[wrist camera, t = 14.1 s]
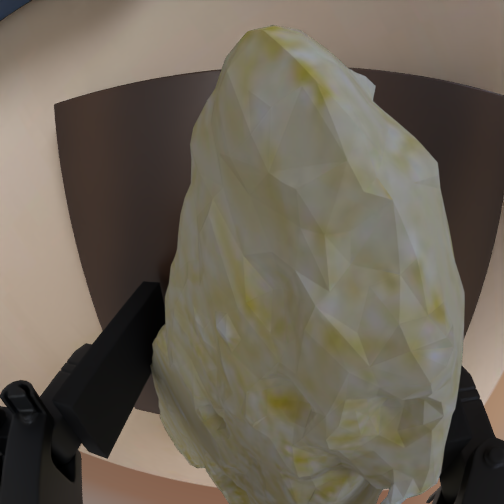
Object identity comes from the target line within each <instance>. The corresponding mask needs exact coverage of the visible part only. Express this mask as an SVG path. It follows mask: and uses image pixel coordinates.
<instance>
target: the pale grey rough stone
mask: <svg viewBox="0 0 504 504" xmlns="http://www.w3.org/2000/svg"><path fill="white" fill-rule="evenodd" d="M375 87H376V86H375V85H374V84H373V83H372V82H371V81H370V80H369V79H368V78H367V77H366V76H363V75H361V74H358V73H356V72H354V71H352V70H351V69H349V68H347V67H346V66H345V65H344V64H343V63H342V62H341V61H340V60H339V59H337V58H336V57H335V56H334V55H333V54H332V53H331V52H330V51H328V50H327V49H326V48H324V47H323V46H322V45H320V44H319V43H318V42H316V41H315V40H314V39H312V38H311V37H309V36H308V35H307V34H305V33H304V32H302V31H301V30H298V29H292V28H287V27H281V26H276V25H271V26H267V27H262V28H259V29H255V30H251V31H248V32H247V33H246V34H245V35H244V36H243V37H242V39H241V40H240V41H239V42H238V43H237V44H236V46H235V47H234V48H233V49H232V50H231V52H230V53H229V54H228V55H227V57H226V58H225V61H224V64H223V67H222V70H221V73H220V76H219V79H218V82H217V85H216V88H215V90H214V91H213V93H212V94H211V96H210V97H209V99H208V100H207V102H206V104H205V106H204V108H203V110H202V112H201V114H200V116H199V118H198V119H197V121H196V123H195V125H194V127H193V132H192V137H191V143H190V148H191V184H190V187H189V189H188V191H187V193H186V196H185V199H184V203H183V206H182V210H181V215H180V223H179V232H178V245H177V251H176V255H175V258H174V260H173V262H172V264H171V269H170V278H169V285H168V288H167V291H166V295H165V325H164V326H162V328H161V329H160V331H159V332H158V335H157V337H156V338H155V340H154V342H153V344H152V346H153V356H152V364H151V365H150V367H151V371H152V375H153V380H154V386H155V389H156V393H157V396H158V398H159V409H160V419H161V421H162V423H163V425H164V428H165V429H166V431H167V433H168V435H169V436H170V438H171V440H172V441H173V443H174V445H175V446H176V448H177V449H178V450H179V452H180V453H181V454H182V455H183V456H184V457H185V458H186V460H187V461H188V462H189V464H190V465H192V466H194V467H196V468H206V471H207V473H208V474H209V476H210V477H211V479H212V480H213V482H214V483H215V485H216V486H217V488H218V489H219V490H220V491H221V492H222V493H223V495H224V497H225V498H226V500H227V501H228V502H229V504H376V503H377V500H378V497H379V495H380V494H381V492H382V490H383V489H389V492H388V496H387V497H386V498H385V499H384V500H383V501H382V502H381V504H401V503H402V502H403V501H404V500H405V499H406V498H410V497H413V496H417V495H420V494H422V493H424V492H425V491H427V490H428V489H429V488H431V487H432V486H434V485H435V484H437V482H438V479H439V477H440V474H441V469H442V463H443V456H444V448H445V443H446V439H447V435H448V431H449V427H450V423H451V418H452V414H453V412H454V410H455V407H456V401H457V395H458V389H459V382H460V374H461V365H462V353H463V338H464V309H465V292H464V289H463V285H462V282H461V279H460V275H459V272H458V269H457V266H456V263H455V259H454V253H453V247H452V241H451V236H450V231H449V226H448V221H447V216H446V212H445V208H444V203H443V198H442V194H441V189H440V179H439V170H438V163H437V161H436V160H435V159H434V158H433V157H432V156H431V154H430V153H429V152H428V151H427V150H426V149H425V148H424V147H423V145H422V144H421V143H420V142H419V141H418V140H417V139H416V138H415V137H414V136H413V135H412V134H410V133H409V132H408V131H407V130H406V129H405V128H404V127H402V126H401V125H400V124H399V123H398V122H397V121H395V120H394V119H393V118H392V117H391V116H389V115H388V114H387V113H386V112H385V111H383V110H382V109H381V108H380V107H379V106H378V105H377V104H376V103H374V102H373V97H374V92H375Z"/></svg>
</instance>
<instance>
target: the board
mask: <svg viewBox="0 0 504 504" xmlns="http://www.w3.org/2000/svg"><path fill="white" fill-rule="evenodd" d="M349 69H351V70H352V71H354V72H356V73H358V74H361V75H363V76H366V77H367V78H368V79H369V80H370V81H371V82H372V83H373V84H374V85H375V86H376V87H375V92H374V97H373V102H374V103H376V104H377V105H378V106H379V107H380V108H381V109H382V110H383V111H385V112H386V113H387V114H388V115H389V116H391V117H392V118H393V119H394V120H395V121H397V122H398V123H399V124H400V125H401V126H402V127H404V128H405V129H406V130H407V131H408V132H409V133H410V134H412V135H413V136H414V137H415V138H416V139H417V140H418V141H419V142H420V143H421V144H422V145H423V147H424V148H425V149H426V150H427V151H428V152H429V153H430V154H431V156H432V157H433V158H434V159H435V160H436V161H437V163H438V170H439V179H440V189H441V194H442V198H443V203H444V208H445V212H446V216H447V221H448V226H449V231H450V236H451V241H452V247H453V253H454V259H455V263H456V266H457V269H458V272H459V275H460V279H461V282H462V285H463V289H464V292H465V309H464V337H465V335H466V332H467V330H468V327H469V324H470V322H471V319H472V316H473V314H474V311H475V308H476V305H477V302H478V299H479V296H480V293H481V290H482V286H483V283H484V280H485V276H486V273H487V269H488V266H489V262H490V258H491V254H492V250H493V246H494V242H495V238H496V233H497V229H498V224H499V219H500V213H501V208H502V202H503V196H504V95H501V94H497V93H494V92H490V91H487V90H483V89H479V88H475V87H471V86H467V85H463V84H459V83H454V82H450V81H445V80H440V79H435V78H429V77H424V76H418V75H411V74H405V73H397V72H390V71H381V70H371V69H360V68H349ZM221 70H222V69H221ZM221 70H211V71H202V72H194V73H187V74H180V75H173V76H167V77H161V78H156V79H150V80H145V81H140V82H135V83H130V84H126V85H121V86H117V87H113V88H109V89H105V90H101V91H97V92H93V93H90V94H86V95H82V96H79V97H76V98H72V99H69V100H66V101H63V102H59V103H56V104H54V111H55V123H56V133H57V142H58V150H59V158H60V165H61V171H62V177H63V183H64V189H65V195H66V200H67V205H68V210H69V215H70V219H71V224H72V228H73V233H74V237H75V241H76V245H77V249H78V253H79V257H80V260H81V264H82V268H83V271H84V275H85V278H86V282H87V285H88V288H89V291H90V295H91V298H92V301H93V304H94V307H95V310H96V313H97V316H98V319H99V322H100V325H101V327H102V330H104V329H105V328H106V326H107V325H108V324H109V323H110V321H111V320H112V319H113V318H114V316H115V315H116V314H117V313H118V311H119V310H120V309H121V308H122V306H123V305H124V304H125V303H126V302H127V300H128V299H129V298H130V297H131V295H132V294H133V293H134V292H135V291H136V289H137V288H138V287H139V286H140V285H141V283H142V282H143V281H146V282H160V286H161V291H162V296H163V301H164V305H165V295H166V291H167V288H168V285H169V278H170V269H171V264H172V262H173V260H174V258H175V255H176V251H177V245H178V232H179V223H180V215H181V210H182V206H183V203H184V199H185V196H186V193H187V191H188V189H189V187H190V184H191V148H190V143H191V137H192V132H193V127H194V125H195V123H196V121H197V119H198V118H199V116H200V114H201V112H202V110H203V108H204V106H205V104H206V102H207V100H208V99H209V97H210V96H211V94H212V93H213V91H214V90H215V88H216V85H217V82H218V79H219V76H220V73H221ZM463 340H464V338H463ZM134 407H135V409H139V410H143V411H147V412H152V413H156V414H160V409H159V398H158V396H157V393H156V389H155V386H154V380H153V375H152V373H151V375H150V377H149V379H148V380H147V382H146V384H145V386H144V388H143V390H142V392H141V394H140V396H139V398H138V400H137V401H136V403H135V405H134Z"/></svg>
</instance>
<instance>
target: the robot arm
mask: <svg viewBox="0 0 504 504" xmlns="http://www.w3.org/2000/svg"><path fill="white" fill-rule="evenodd" d="M164 325H165V305H164V301H163V296H162V291H161V286H160V282H146V281H143V282H142V283H141V285H140V286H139V287H138V288H137V289H136V291H135V292H134V293H133V294H132V295H131V297H130V298H129V299H128V300H127V302H126V303H125V304H124V305H123V306H122V308H121V309H120V310H119V311H118V313H117V314H116V315H115V316H114V318H113V319H112V320H111V321H110V323H109V324H108V325H107V326H106V328H105V329H104V330H103V332H102V333H101V334H100V335H99V337H98V338H97V339H96V340H95V342H94V343H93V344H92V345H91V344H87V343H86V344H85V345H83V346H82V347H80V348H79V349H77V350H76V351H75V352H74V353H73V354H72V356H71V357H70V358H69V359H68V361H67V363H65V364H64V366H63V367H62V368H61V371H59V372H58V374H57V375H56V376H55V377H54V379H53V380H52V381H51V383H50V384H49V385H48V387H47V388H46V389H45V391H44V392H43V393H42V395H41V396H40V397H39V395H38V394H37V392H36V391H35V389H34V388H33V386H32V384H31V383H29V382H27V381H23V380H19V381H15V382H12V383H11V384H9V385H7V386H6V387H5V388H4V389H3V390H2V392H1V394H0V398H1V399H2V401H3V402H4V404H5V405H6V406H7V407H2V406H0V504H83V500H82V474H81V473H82V472H81V470H82V469H81V454H80V452H79V450H78V448H79V446H80V444H81V443H82V444H83V445H84V446H85V448H86V449H87V450H88V451H89V452H91V453H94V454H96V455H99V456H102V457H104V458H107V459H108V457H109V455H110V453H111V451H112V449H113V447H114V445H115V443H116V441H117V439H118V437H119V435H120V433H121V431H122V429H123V427H124V425H125V423H126V421H127V419H128V417H129V415H130V413H131V411H132V409H133V407H134V405H135V403H136V401H137V400H138V398H139V396H140V394H141V392H142V390H143V388H144V386H145V384H146V382H147V380H148V379H149V377H150V375H151V373H152V371H151V367H150V365H151V364H152V356H153V346H152V344H153V342H154V340H155V338H156V337H157V335H158V332H159V331H160V329H161V328H162V326H164ZM440 482H441V486H440V487H439V488H438V489H437V491H435V492H434V493H433V494H432V495H431V496H430V497H429V499H428V500H427V502H426V503H430V502H431V501H432V500H433V499H434V500H433V502H432V504H504V441H503V440H500V439H498V438H496V437H495V435H494V433H493V430H492V427H491V424H490V421H489V419H488V416H487V413H486V411H485V408H484V406H483V403H482V401H481V399H480V396H479V393H478V391H477V389H476V386H475V384H474V381H473V379H472V377H471V375H470V374H469V373H468V371H467V370H466V369H465V368H464V367H463V366H462V365H461V374H460V382H459V389H458V395H457V401H456V407H455V410H454V412H453V414H452V418H451V423H450V427H449V431H448V435H447V439H446V443H445V448H444V456H443V463H442V469H441V474H440Z"/></svg>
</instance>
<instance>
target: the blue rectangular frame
mask: <svg viewBox="0 0 504 504" xmlns="http://www.w3.org/2000/svg"><path fill="white" fill-rule="evenodd" d="M29 1H31V0H0V20H2V19H3V18H5V17H6V16H8V15H9V14H11V13H12V12H14V11H15V10H17V9H18V8H20V7H21V6H23V5H25V4H26V3H28V2H29Z"/></svg>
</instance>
